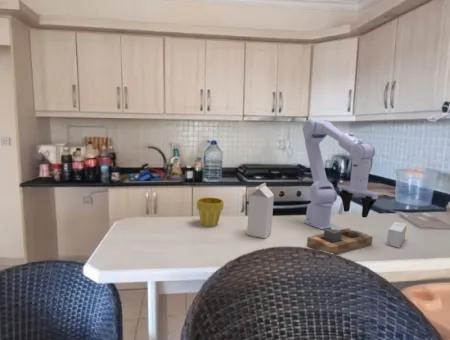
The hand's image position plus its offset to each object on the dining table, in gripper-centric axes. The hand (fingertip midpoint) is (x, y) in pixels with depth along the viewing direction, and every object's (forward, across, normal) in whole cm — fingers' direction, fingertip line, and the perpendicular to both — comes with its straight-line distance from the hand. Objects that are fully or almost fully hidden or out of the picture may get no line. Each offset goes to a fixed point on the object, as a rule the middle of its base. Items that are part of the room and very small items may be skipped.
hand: (355, 214), depth 116 cm
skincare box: (+7, +6, +19) cm, 21 cm away
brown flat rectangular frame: (+10, +2, -9) cm, 13 cm away
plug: (+10, +2, -14) cm, 17 cm away
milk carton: (+10, -19, -28) cm, 36 cm away
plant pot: (+10, -37, -40) cm, 55 cm away
